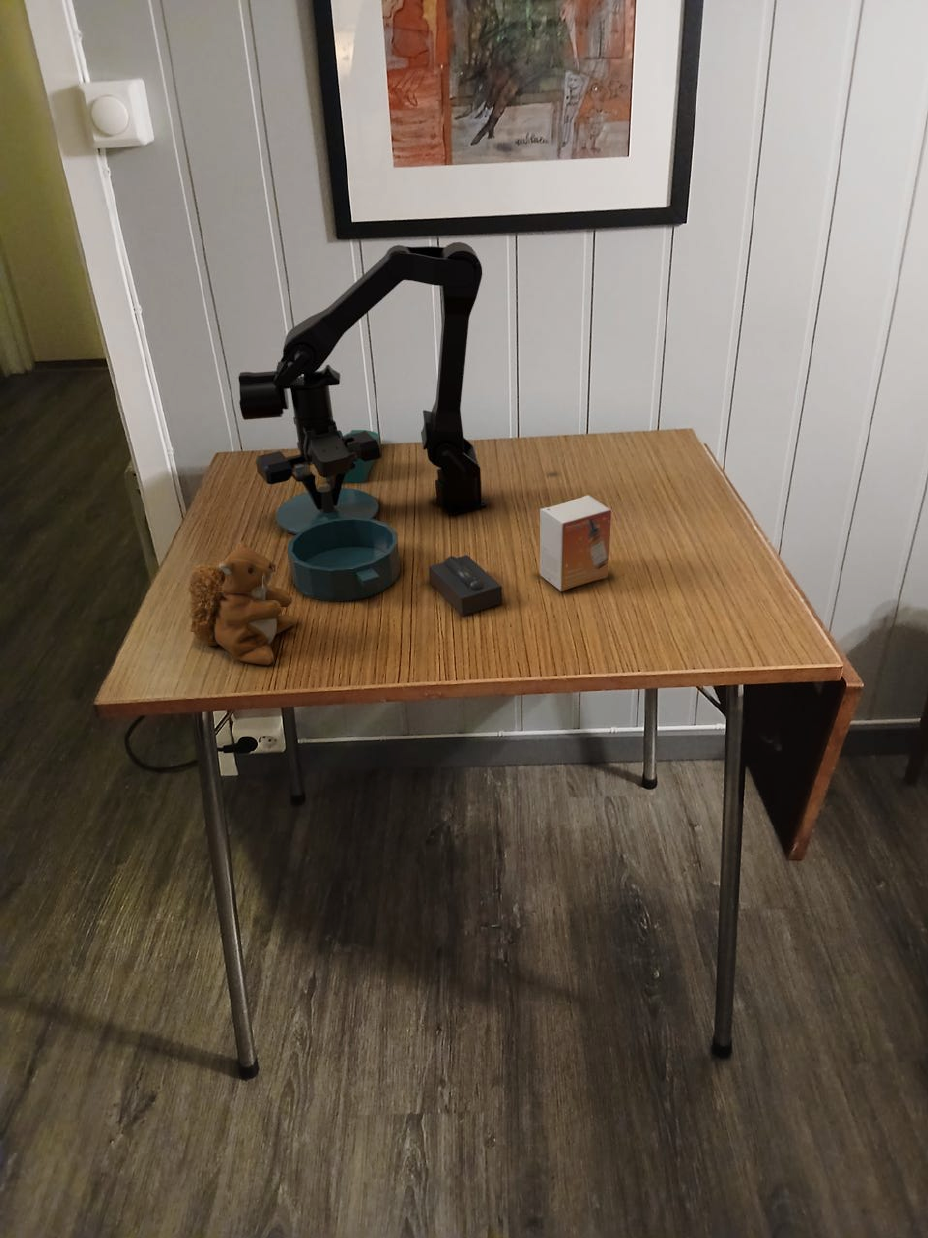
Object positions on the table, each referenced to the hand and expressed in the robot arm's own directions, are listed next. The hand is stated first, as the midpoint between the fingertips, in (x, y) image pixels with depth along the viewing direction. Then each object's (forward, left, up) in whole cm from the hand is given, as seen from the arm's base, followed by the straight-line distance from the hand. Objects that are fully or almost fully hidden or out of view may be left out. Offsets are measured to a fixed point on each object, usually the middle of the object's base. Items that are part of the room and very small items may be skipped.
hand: (326, 506), depth 149 cm
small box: (-23, +37, -2) cm, 44 cm away
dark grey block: (-8, +33, -2) cm, 34 cm away
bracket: (-12, -18, -2) cm, 22 cm away
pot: (+4, +19, -2) cm, 19 cm away
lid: (0, 0, -1) cm, 1 cm away
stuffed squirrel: (+22, +28, -2) cm, 36 cm away
